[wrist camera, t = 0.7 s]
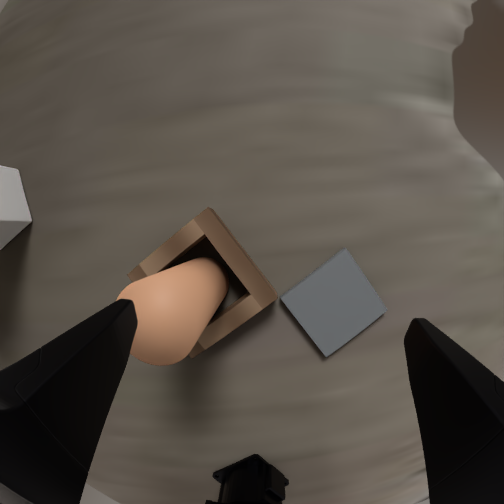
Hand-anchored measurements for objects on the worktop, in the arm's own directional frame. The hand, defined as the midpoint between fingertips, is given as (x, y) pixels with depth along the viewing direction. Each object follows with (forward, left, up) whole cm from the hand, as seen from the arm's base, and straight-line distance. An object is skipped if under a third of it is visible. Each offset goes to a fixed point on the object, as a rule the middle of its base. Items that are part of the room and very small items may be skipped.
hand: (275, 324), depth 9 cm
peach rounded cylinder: (-5, +2, -17) cm, 18 cm away
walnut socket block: (-5, +2, -17) cm, 18 cm away
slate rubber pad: (+3, -6, -17) cm, 19 cm away
